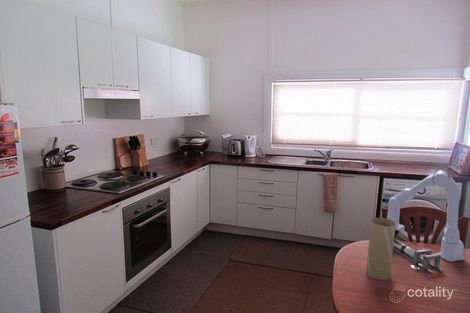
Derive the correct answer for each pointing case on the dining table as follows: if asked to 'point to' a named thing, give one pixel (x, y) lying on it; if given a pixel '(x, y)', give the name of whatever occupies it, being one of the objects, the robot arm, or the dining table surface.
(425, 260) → the grey metal angular piece
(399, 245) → the grey metal elongated piece
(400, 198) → the robot arm
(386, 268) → the tube
